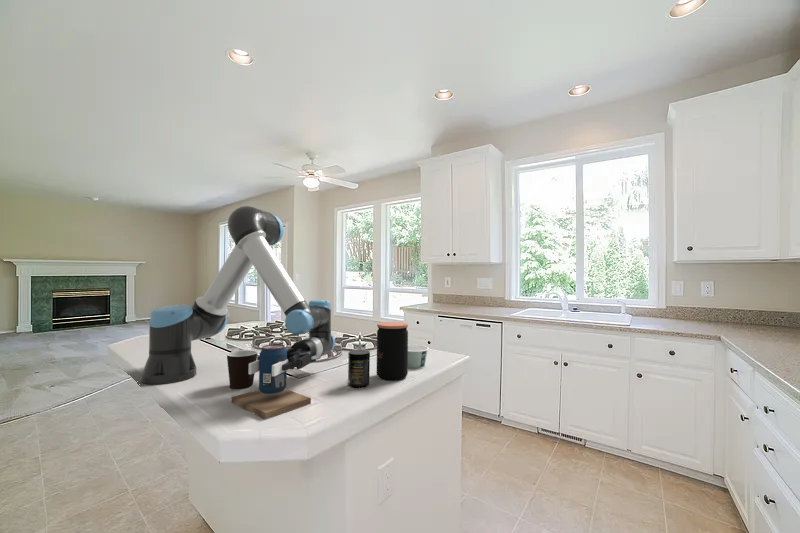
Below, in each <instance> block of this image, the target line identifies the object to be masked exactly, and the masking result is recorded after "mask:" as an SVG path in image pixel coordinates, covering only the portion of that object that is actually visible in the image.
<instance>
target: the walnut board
mask: <svg viewBox="0 0 800 533" xmlns="http://www.w3.org/2000/svg"><path fill="white" fill-rule="evenodd" d="M311 400H312V398H311V397H309V396H306V395H304V394H302V393H299V392H296V391H293V390H290V389H287V388H285V389H284V391H283V392H281V393H279V394H274V395H265V394H262V393H261V391H260V390H259V389H256V390H252V391H248V392H244V393H241V394H237V395H233V396H230V403H231V404H233V405H235V406H237V407H239V408H241V409H244V410H245V411H247V410H248V411H247V412H249V411H250V412H249V413H251V412H252V414H253V413H254V415H255V416H258V417H260V418H262V419H264V420H268V419H271V418H273V417H277V416H279V415H283V414H285V413H288V412H291V411H294V410H297V409H299V408H303V407H304V406H305V407H306V406H308V405H311V404H312V401H311Z"/></svg>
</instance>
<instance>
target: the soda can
mask: <svg viewBox="0 0 800 533" xmlns="http://www.w3.org/2000/svg"><path fill="white" fill-rule="evenodd" d="M286 350H287V349H286V346H285V344H276V343H274V344H266V345H263V346H261V351H260V352H259V356H260V360H259V371H258V390H260V391H261V393H262V394H265V395H274V394H279V393H281V392H283V391H284V389H286V387H287V376H288V375H287V371H288V370H287V371H285V372H283V373H280V374H278V375H276V376H272V365H274V364H277V363H279V362H283V361H285V360H287V351H286Z"/></svg>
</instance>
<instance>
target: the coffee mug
mask: <svg viewBox="0 0 800 533" xmlns="http://www.w3.org/2000/svg"><path fill="white" fill-rule="evenodd" d="M257 358H258V351H257V350H249V349H248V350H247V349H246V350H236V351H231V352H228V353H227V354H226V361H227V369H228V380H229V388H230V389H231V390H245V389H249V388H251V387H253V385H254V381H255V379H254V378H255V374H256V373H253V374H249V363H252V362H255V361H257Z"/></svg>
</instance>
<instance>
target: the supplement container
mask: <svg viewBox="0 0 800 533" xmlns="http://www.w3.org/2000/svg"><path fill="white" fill-rule="evenodd" d="M347 357H348V362H347V364H348V367H347V370H348V371H347V374H348V375H347V384H348V386H349V388H351V389H358V390H359V389H364V388H368V386H369V384H370V376H371V375H370V366H371V365H370V364H371V363H370V361H371V359H370V358H371V351H369V350H367V349H354V350H349V351H348V356H347Z"/></svg>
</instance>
